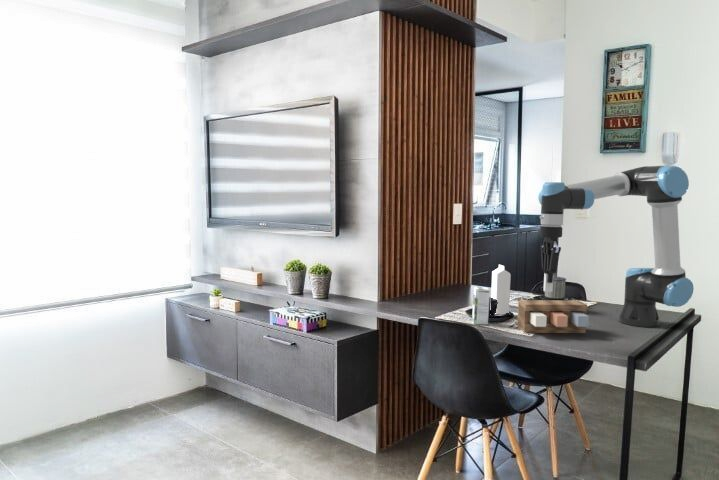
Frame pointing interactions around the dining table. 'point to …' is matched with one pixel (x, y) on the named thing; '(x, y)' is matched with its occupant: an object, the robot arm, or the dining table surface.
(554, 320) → the salmon pink block
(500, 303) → the milk
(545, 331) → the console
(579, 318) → the slate button
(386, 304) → the dining table surface
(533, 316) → the cream button
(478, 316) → the syrup box
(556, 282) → the milk frother
